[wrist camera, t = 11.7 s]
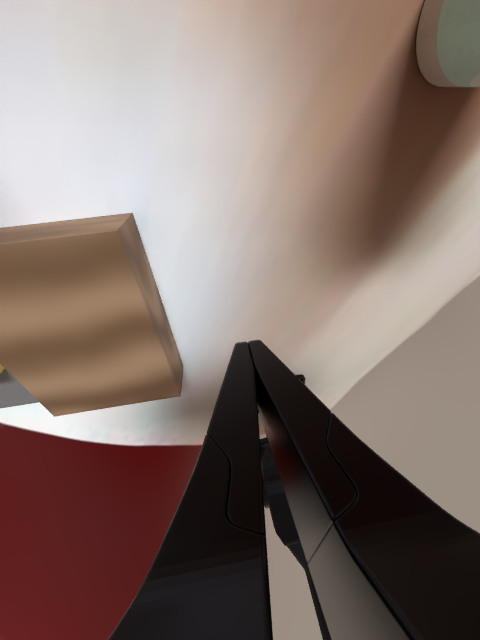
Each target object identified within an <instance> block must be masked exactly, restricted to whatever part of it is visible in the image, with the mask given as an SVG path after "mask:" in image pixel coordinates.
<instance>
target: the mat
mask: <svg viewBox="0 0 480 640" xmlns="http://www.w3.org/2000/svg"><path fill="white" fill-rule="evenodd" d="M37 402H39V401H38V400H37V399H36V398H35V397H34V396H33V395H32V394H31V393H30V392H29V391H28V390H27V389H26V388H25V387H24V386H23V385H22V384H21V383H20V382H19V381H18V380H16V379H15V378H14V377H13V376H12V375H11V374H10V373H9V372H8V371H7V370H6V369H4V370H3V371H2V372H1V373H0V408H5V407H12V406H18V405H24V404H31V403H37Z"/></svg>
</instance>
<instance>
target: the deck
mask: <svg viewBox="0 0 480 640" xmlns="http://www.w3.org/2000/svg"><path fill="white" fill-rule="evenodd" d="M0 364H1V365H2V366H3V367H4V368H5V369H6V370H7V371H8V372H9V373H10V374H11V375H12V376H13V377H14V378H15V379H16V380H18V381H19V382H20V383H21V384H22V385H23V386H24V387H25V388H26V389H27V390H28V391H29V392H30V393H31V394H32V395H33V396H34V397H35V398H36V399H37V400H38V401H39V402H40V403H41V404H42V405H43V406H44V407H45V408H46V409H47V410H48V411H49V412H50V413H51V414H52V415H53V416H60V415H67V414H73V413H79V412H85V411H91V410H97V409H104V408H110V407H116V406H122V405H128V404H135V403H141V402H147V401H153V400H159V399H166V398H172V397H178V396H181V388H182V373H183V364H182V361H181V358H180V355H179V352H178V349H177V346H176V343H175V340H174V337H173V334H172V331H171V328H170V325H169V322H168V319H167V316H166V313H165V310H164V307H163V304H162V301H161V298H160V295H159V292H158V289H157V286H156V282H155V279H154V276H153V273H152V270H151V267H150V264H149V261H148V258H147V255H146V252H145V249H144V246H143V243H142V240H141V237H140V234H139V231H138V228H137V225H136V222H135V219H134V216H133V213H128V214H119V215H110V216H102V217H93V218H84V219H76V220H67V221H58V222H49V223H41V224H32V225H23V226H15V227H6V228H0Z"/></svg>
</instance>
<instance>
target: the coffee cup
mask: <svg viewBox="0 0 480 640" xmlns="http://www.w3.org/2000/svg"><path fill="white" fill-rule="evenodd" d="M416 54H417V61H418V65H419V68H420V71H421V73H422V75H423V76H424V78H425V79H426V80H427V81H428V82H429V83H431V84H433V85H435V86H438V87H480V0H425V3H424V5H423V9H422V12H421V16H420V20H419V24H418V30H417V39H416Z"/></svg>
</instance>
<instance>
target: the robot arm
mask: <svg viewBox="0 0 480 640" xmlns="http://www.w3.org/2000/svg"><path fill="white" fill-rule="evenodd" d="M304 384H305V377H304V375H297V376H295V375H294V374H293V373H292V372H291V370H290V369H289V368H288V367H287V366H286V365H285V364H284V363H283V362H282V361H281V360H280V359H279V358H278V357H277V356H276V355H275V354H274V353H273V352H272V351H271V350H270V349H269V348H268V347H267V346H266V345H265V344H264V343H263V342H262V341H261V340H253V341H249V342H248V343H247V342H240V343H236V344H235V346H234V349H233V352H232V355H231V358H230V362H229V365H228V368H227V371H226V374H225V377H224V380H223V383H222V387H221V390H220V393H219V396H218V399H217V402H216V405H215V408H214V411H213V415H212V418H211V421H210V424H209V427H208V430H207V435H206V436H205V439H204V442H203V445H202V449H201V452H200V454H199V457H198V460H197V463H196V465H195V468H194V471H193V473H192V476H191V478H190V481H189V483H188V485H187V488H186V490H185V492H184V495H183V497H182V499H181V501H180V504H179V506H178V508H177V510H176V513H175V515H174V517H173V519H172V521H171V524H170V526H169V528H168V530H167V533H166V535H165V537H164V539H163V542H162V544H161V546H160V548H159V550H158V553H157V555H156V557H155V559H154V561H153V564H152V566H151V568H150V570H149V572H148V574H147V576H146V578H145V580H144V582H143V584H142V585H141V587H140V589H139V591H138V593H137V595H136V596H135V598H134V600H133V602H132V604H131V605H130V607H129V608H128V610H127V611H126V613H125V615H124V616H123V618H122V619H121V621H120V622H119V624H118V625H117V627H116V628H115V630H114V631H113V633H112V635H111V636H110V638H109V639H108V640H273V634H272V620H271V606H270V591H269V576H268V560H267V545H266V530H265V515H264V506H265V508H270V511H271V516H272V520H273V524H274V528H275V531H276V533H277V535H278V536H279V538H280V539H281V541H282V542H283V544H284V545H285V546H287V547H288V548H289V549H290V551H291V552H292V553H293V555H294V556H295V557H296V559H297V560H298V562H299V563H300V564H301V565H302V567H303V568H304V570H305V572H306V576H307V579H308V583H309V587H310V590H311V595H312V599H313V603H314V607H315V610H316V614H317V618H318V622H319V626H320V630H321V633H322V637H323V640H480V533H478V532H477V531H475V530H473V529H472V528H470V527H468V526H467V525H465V524H464V523H462V522H460V521H459V520H458V519H456V518H455V517H453V516H452V515H451V514H449V513H448V512H446V511H445V510H444V509H442V508H441V507H440V506H439V505H437V504H436V503H435V502H434V501H432V500H431V499H430V498H429V497H428V496H427V495H425V494H424V493H423V492H421V490H419V489H418V488H417V487H416V486H415V485H413V484H412V483H411V482H410V481H409V480H407V479H406V478H405V477H404V476H403V475H401V474H400V473H399V472H398V471H397V470H395V469H394V468H393V467H392V466H391V465H389V464H388V463H387V462H386V461H385V460H383V459H382V458H381V457H380V456H379V455H377V454H376V453H375V452H374V451H373V450H372V449H371V448H369V447H368V446H367V445H366V444H365V443H364V442H362V441H361V440H360V439H359V438H358V437H357V436H356V435H355V434H354V433H353V432H352V431H351V430H350V429H349V428H348V427H346V426H345V425H344V424H343V423H342V422H341V421H340V420H339V419H338V418H337V417H336V416H335V415H334V414H333V413H331V411H330V410H329V409H328V408H327V407H326V406H325V405H324V404H323V403H322V402H321V401H320V400H319V399H318V398H317V397H316V396H315V395H314V394H313V393H312V392H311V391H310V390H309V389H308V388H307V387H306V386H305V385H304ZM258 413H260V415H261V418H262V421H263V424H264V428H265V432H266V436H267V437H266V438H263V439H260V438H259V422H258Z"/></svg>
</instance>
